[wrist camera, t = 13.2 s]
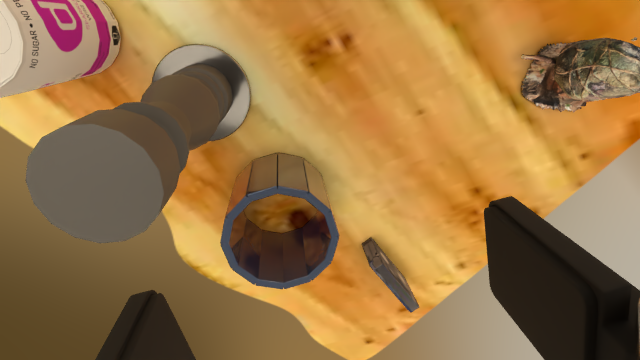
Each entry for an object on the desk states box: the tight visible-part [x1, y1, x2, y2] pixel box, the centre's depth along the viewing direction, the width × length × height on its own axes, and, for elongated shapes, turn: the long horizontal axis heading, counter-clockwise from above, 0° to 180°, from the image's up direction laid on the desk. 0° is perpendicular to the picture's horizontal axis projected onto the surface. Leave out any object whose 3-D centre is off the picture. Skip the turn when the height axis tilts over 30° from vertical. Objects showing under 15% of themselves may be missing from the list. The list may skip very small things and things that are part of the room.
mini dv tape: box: [362, 238, 419, 312], centre depth 48 cm, size 8×2×6 cm, turn 37°
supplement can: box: [0, 0, 121, 98], centre depth 31 cm, size 8×8×15 cm
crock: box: [220, 153, 339, 289], centre depth 41 cm, size 11×11×10 cm
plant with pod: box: [521, 37, 640, 112], centre depth 34 cm, size 8×11×20 cm
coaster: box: [152, 44, 251, 141], centre depth 40 cm, size 10×10×1 cm
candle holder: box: [26, 64, 233, 243], centre depth 28 cm, size 6×6×25 cm
